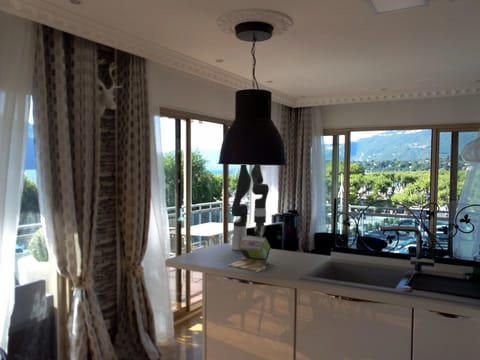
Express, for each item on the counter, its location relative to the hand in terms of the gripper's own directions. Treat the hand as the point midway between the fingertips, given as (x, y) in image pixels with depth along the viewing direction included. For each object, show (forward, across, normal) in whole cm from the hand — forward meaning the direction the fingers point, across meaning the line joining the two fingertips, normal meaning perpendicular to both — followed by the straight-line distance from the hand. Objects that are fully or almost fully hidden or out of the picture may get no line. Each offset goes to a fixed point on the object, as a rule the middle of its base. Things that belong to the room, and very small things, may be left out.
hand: (259, 242), depth 255 cm
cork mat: (+12, +14, 0) cm, 19 cm away
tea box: (+9, 0, 0) cm, 9 cm away
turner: (+12, +16, +11) cm, 23 cm away
